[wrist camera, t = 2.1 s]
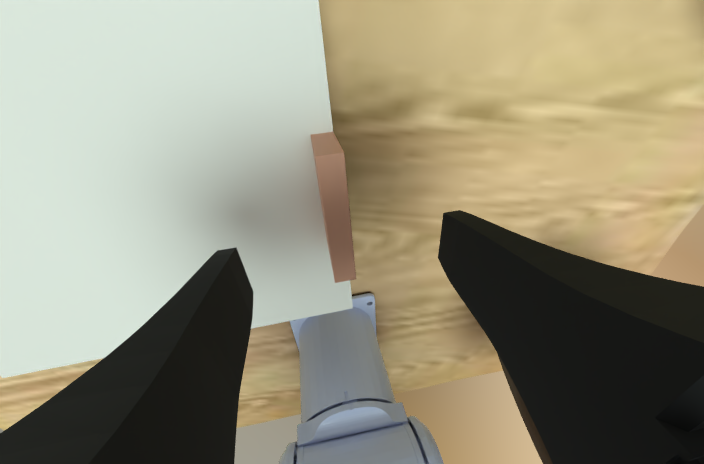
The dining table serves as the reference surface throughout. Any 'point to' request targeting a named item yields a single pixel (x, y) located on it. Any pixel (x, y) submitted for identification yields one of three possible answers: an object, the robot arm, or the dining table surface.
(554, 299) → the robot arm
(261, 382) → the dining table surface
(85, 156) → the lid
